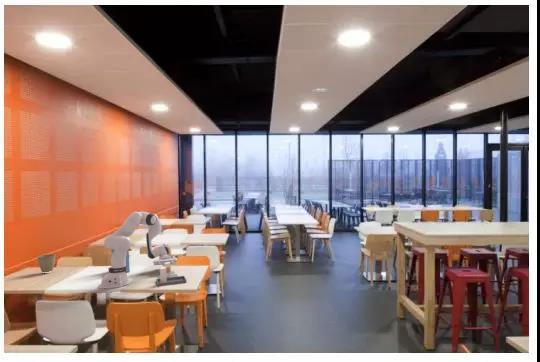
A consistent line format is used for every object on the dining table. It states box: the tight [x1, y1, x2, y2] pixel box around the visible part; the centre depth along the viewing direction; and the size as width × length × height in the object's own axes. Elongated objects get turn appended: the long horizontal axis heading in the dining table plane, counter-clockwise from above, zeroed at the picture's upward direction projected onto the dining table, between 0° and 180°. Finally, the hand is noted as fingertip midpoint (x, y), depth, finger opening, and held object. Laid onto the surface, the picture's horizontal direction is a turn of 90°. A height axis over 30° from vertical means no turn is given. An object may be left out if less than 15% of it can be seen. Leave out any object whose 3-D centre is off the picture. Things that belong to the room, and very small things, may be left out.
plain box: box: [159, 266, 167, 283], centre depth 305 cm, size 4×4×12 cm
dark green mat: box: [157, 274, 179, 279], centre depth 323 cm, size 16×14×1 cm
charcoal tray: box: [155, 275, 187, 287], centre depth 307 cm, size 22×14×2 cm, turn 110°
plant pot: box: [37, 253, 57, 273], centre depth 357 cm, size 15×15×16 cm
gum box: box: [110, 248, 131, 273], centre depth 352 cm, size 19×5×23 cm, turn 56°
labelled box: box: [164, 262, 172, 278], centre depth 323 cm, size 4×5×12 cm
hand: (166, 263), depth 334 cm, fingers open, 8 cm apart
